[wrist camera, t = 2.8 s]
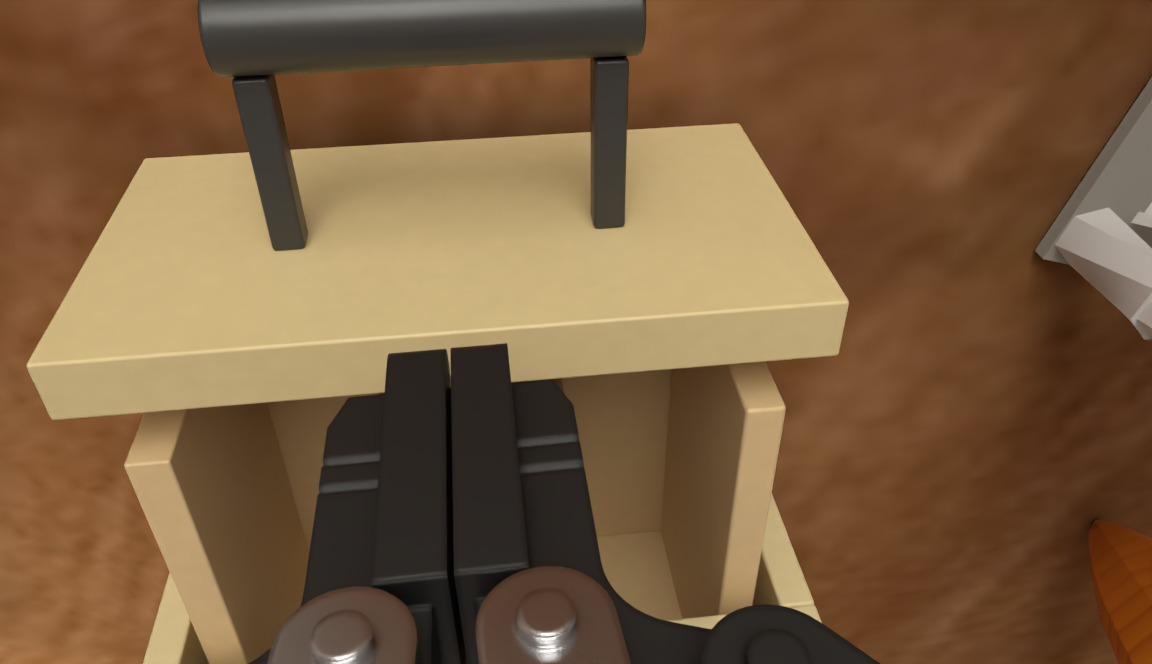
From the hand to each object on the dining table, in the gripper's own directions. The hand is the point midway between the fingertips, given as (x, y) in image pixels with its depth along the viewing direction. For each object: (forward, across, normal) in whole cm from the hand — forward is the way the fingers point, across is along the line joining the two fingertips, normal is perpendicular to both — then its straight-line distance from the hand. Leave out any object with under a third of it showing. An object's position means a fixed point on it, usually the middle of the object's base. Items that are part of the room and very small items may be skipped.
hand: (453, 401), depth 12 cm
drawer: (+10, 0, +6) cm, 12 cm away
